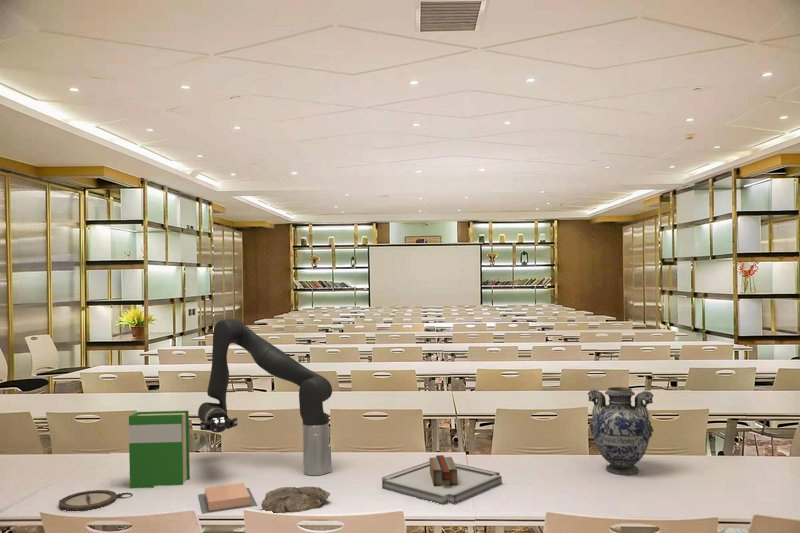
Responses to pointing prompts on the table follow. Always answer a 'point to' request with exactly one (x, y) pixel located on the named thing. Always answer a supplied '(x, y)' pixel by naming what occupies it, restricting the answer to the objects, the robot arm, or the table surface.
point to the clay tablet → (294, 499)
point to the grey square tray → (441, 481)
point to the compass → (89, 500)
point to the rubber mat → (205, 509)
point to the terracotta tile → (227, 496)
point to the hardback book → (159, 448)
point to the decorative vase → (621, 428)
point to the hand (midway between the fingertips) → (221, 428)
